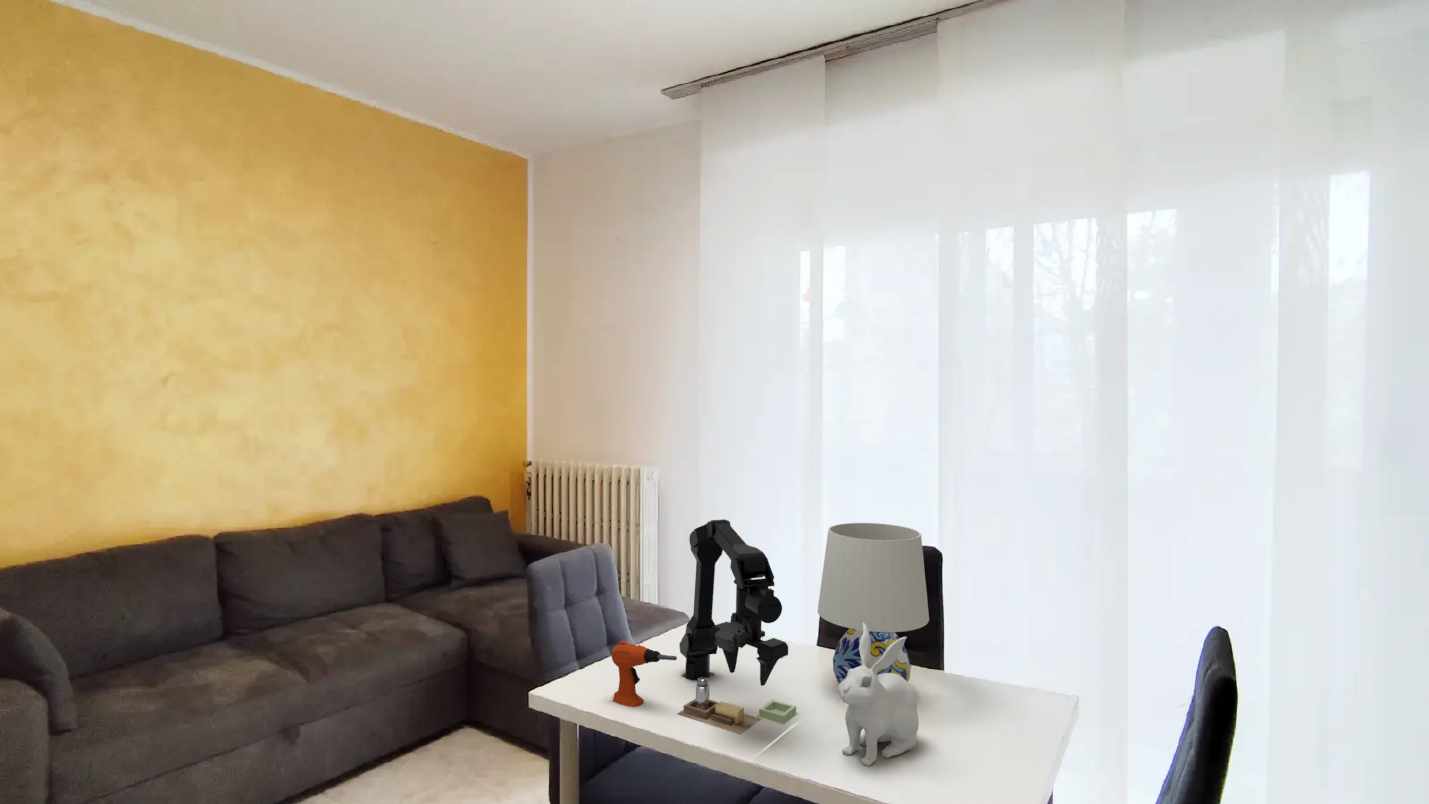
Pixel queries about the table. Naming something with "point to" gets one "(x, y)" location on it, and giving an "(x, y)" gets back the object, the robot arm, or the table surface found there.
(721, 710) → the yellow rectangular block
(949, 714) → the table surface
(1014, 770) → the table surface
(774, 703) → the tray
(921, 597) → the table lamp
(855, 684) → the rabbit
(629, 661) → the toy drill
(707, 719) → the socket block
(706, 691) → the chrome stepped cylinder
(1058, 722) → the table surface
